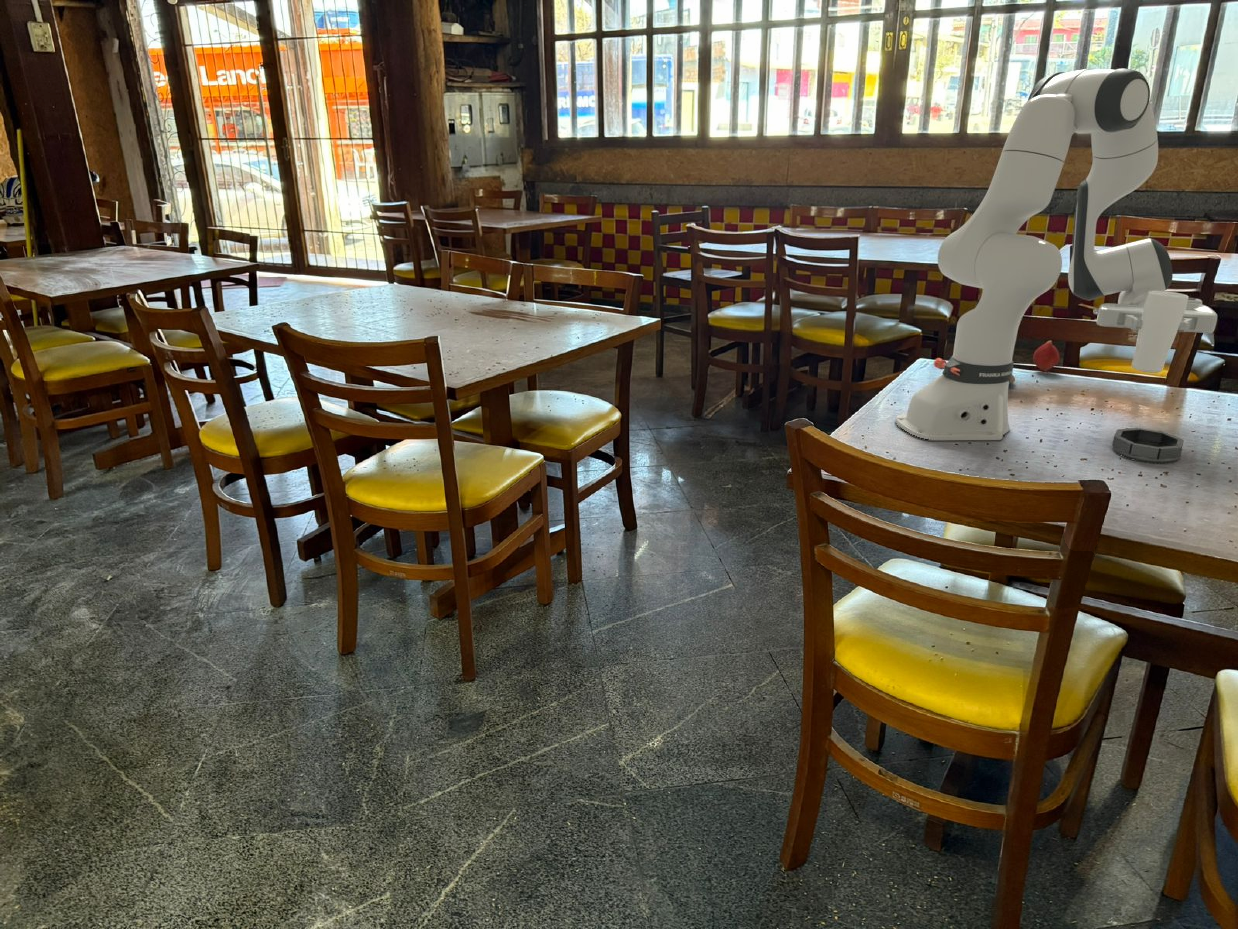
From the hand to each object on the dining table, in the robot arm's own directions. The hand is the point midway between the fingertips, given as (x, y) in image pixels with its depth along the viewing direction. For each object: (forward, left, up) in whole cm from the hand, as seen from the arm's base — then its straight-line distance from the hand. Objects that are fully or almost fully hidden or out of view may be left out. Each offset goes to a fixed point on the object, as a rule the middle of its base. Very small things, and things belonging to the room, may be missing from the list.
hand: (1160, 326), depth 161 cm
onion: (+11, +45, -22) cm, 51 cm away
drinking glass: (0, +1, -9) cm, 9 cm away
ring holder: (-6, -10, -22) cm, 25 cm away
